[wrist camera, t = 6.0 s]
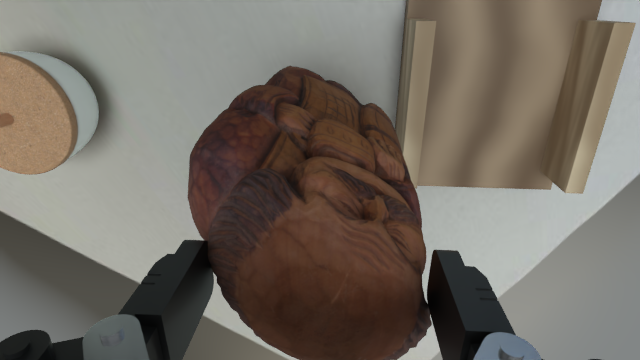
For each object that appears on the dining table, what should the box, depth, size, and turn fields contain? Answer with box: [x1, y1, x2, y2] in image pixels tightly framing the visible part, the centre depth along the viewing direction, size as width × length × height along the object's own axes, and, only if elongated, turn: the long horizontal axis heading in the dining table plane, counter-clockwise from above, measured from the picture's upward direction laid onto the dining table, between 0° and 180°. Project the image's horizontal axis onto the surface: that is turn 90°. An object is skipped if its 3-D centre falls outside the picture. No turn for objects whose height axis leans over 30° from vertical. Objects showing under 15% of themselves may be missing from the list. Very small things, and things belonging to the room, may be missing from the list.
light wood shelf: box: [395, 0, 636, 193], centre depth 35 cm, size 16×18×6 cm
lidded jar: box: [0, 51, 99, 174], centre depth 37 cm, size 11×11×9 cm
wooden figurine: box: [188, 66, 432, 360], centre depth 19 cm, size 12×6×18 cm, turn 59°
